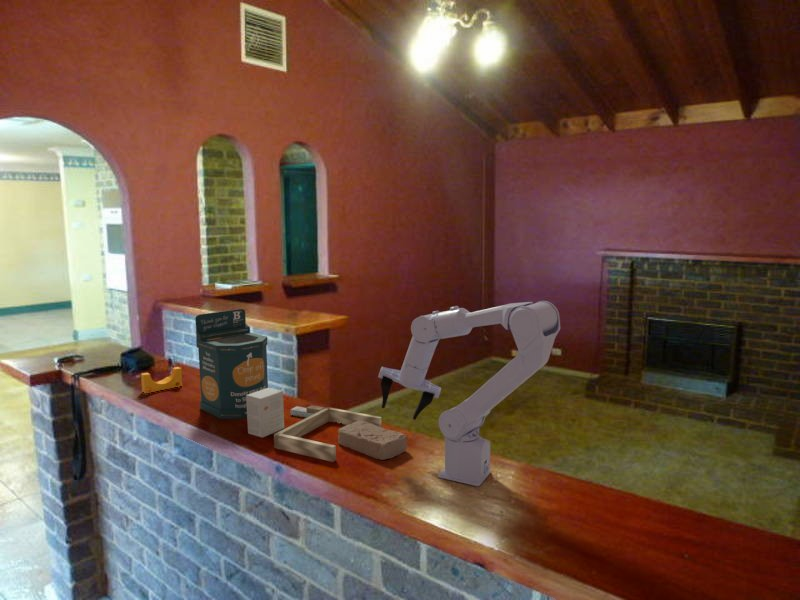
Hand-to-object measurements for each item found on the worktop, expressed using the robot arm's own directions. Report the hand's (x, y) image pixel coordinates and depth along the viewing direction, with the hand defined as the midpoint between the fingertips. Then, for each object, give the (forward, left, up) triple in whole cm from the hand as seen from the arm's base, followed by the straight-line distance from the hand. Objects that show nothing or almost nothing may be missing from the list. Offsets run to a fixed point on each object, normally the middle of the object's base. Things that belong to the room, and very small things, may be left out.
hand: (399, 411), depth 134 cm
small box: (+38, +3, -11) cm, 40 cm away
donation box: (+57, -7, -11) cm, 58 cm away
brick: (+8, 0, -11) cm, 14 cm away
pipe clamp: (+94, -10, -11) cm, 95 cm away
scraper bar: (+35, -11, -11) cm, 38 cm away
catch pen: (+20, 0, -11) cm, 22 cm away
